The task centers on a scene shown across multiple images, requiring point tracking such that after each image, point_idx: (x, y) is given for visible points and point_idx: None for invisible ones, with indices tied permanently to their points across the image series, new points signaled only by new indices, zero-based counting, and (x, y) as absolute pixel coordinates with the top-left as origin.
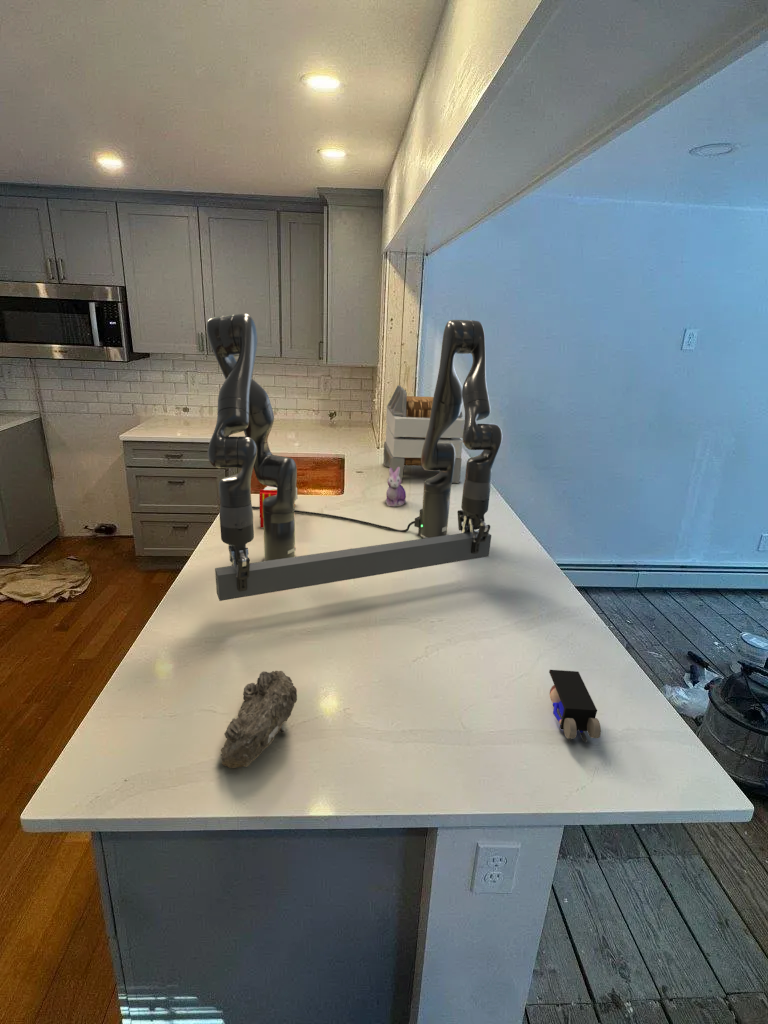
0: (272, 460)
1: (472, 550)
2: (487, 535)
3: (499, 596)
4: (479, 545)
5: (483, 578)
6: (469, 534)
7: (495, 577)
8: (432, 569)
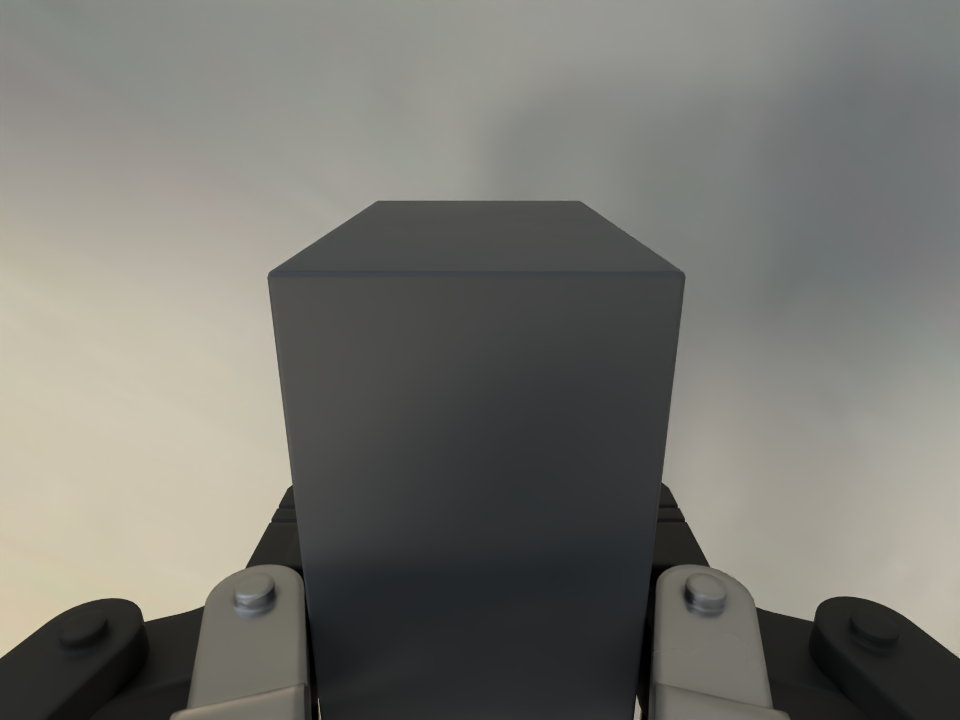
0: None
1: None
2: (659, 394)
3: (851, 250)
4: (700, 550)
5: (513, 182)
6: (447, 717)
7: (538, 48)
8: (233, 491)
